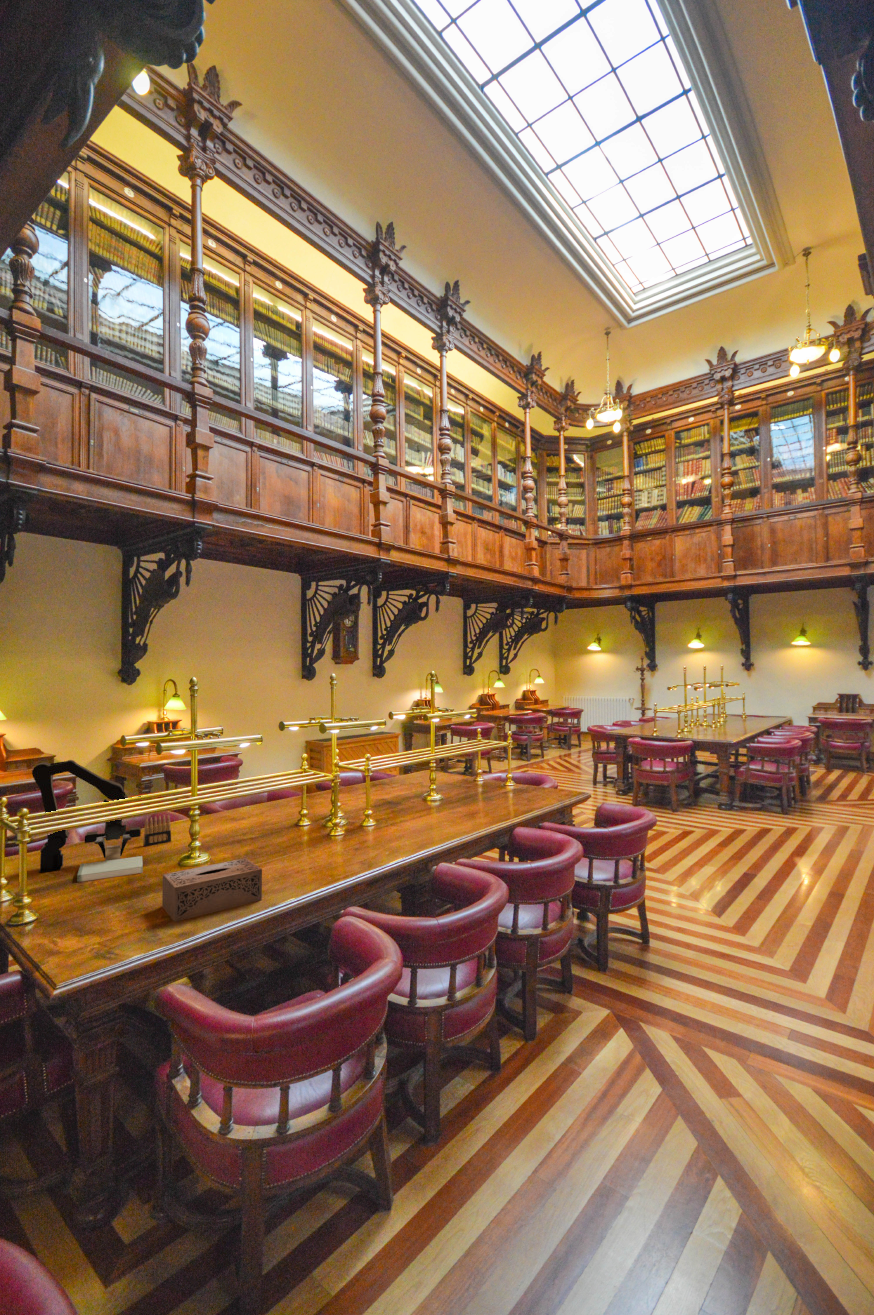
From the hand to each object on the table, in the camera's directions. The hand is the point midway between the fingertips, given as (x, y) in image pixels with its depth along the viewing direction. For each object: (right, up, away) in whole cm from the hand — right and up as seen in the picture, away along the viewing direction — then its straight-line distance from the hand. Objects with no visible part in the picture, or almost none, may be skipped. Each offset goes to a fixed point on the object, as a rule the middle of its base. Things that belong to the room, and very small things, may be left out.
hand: (113, 857), depth 219 cm
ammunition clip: (+6, -3, +23) cm, 24 cm away
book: (+7, -1, -12) cm, 14 cm away
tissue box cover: (+56, 0, -43) cm, 70 cm away
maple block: (0, -1, 0) cm, 1 cm away
